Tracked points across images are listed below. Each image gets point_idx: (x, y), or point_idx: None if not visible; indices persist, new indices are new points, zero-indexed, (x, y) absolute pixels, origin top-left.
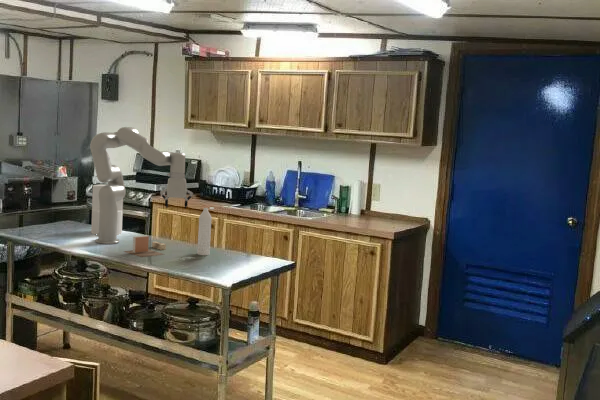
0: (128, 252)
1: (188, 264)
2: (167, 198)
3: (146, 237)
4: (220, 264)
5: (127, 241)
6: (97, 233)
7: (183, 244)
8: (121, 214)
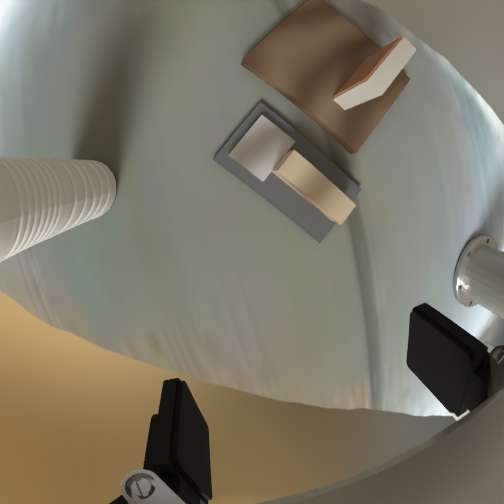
0: None
1: (121, 2)
2: (495, 377)
3: (370, 71)
4: (21, 66)
5: None
6: (488, 344)
7: (241, 366)
8: None
